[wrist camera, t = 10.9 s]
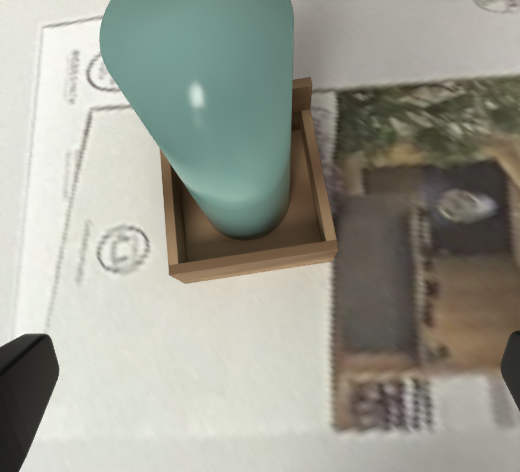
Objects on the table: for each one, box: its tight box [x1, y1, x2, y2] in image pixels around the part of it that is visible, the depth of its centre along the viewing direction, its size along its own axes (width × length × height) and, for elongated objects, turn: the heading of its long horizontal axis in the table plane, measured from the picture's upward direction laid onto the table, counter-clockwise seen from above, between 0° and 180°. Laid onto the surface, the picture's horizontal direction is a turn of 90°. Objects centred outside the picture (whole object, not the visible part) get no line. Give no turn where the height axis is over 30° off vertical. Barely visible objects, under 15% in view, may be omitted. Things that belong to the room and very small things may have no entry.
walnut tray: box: [160, 77, 338, 284], centre depth 20 cm, size 8×8×5 cm
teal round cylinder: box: [100, 0, 294, 241], centre depth 16 cm, size 5×5×12 cm
